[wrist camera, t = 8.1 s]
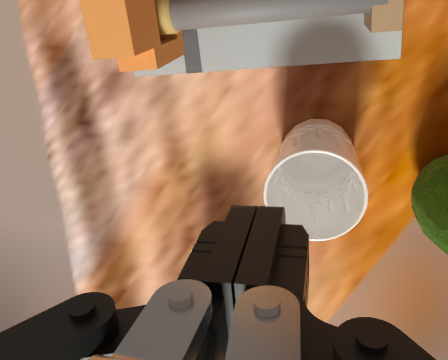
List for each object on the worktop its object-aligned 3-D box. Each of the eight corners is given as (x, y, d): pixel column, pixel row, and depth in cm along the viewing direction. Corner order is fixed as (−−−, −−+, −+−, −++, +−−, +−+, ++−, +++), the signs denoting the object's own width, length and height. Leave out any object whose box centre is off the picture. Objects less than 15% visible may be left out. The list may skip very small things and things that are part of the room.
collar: (172, -36, 35) (117, -40, 25) (185, 54, 37) (138, 79, 28) (138, -31, 35) (72, -34, 26) (153, 56, 38) (97, 82, 29)
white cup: (287, 102, 40) (277, 137, 32) (371, 123, 40) (384, 166, 31) (267, 175, 44) (253, 225, 35) (343, 196, 43) (348, 252, 34)
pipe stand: (407, -94, 32) (430, -113, 25) (398, 56, 37) (416, 75, 30) (116, -52, 38) (68, -58, 31) (138, 74, 42) (101, 94, 35)
